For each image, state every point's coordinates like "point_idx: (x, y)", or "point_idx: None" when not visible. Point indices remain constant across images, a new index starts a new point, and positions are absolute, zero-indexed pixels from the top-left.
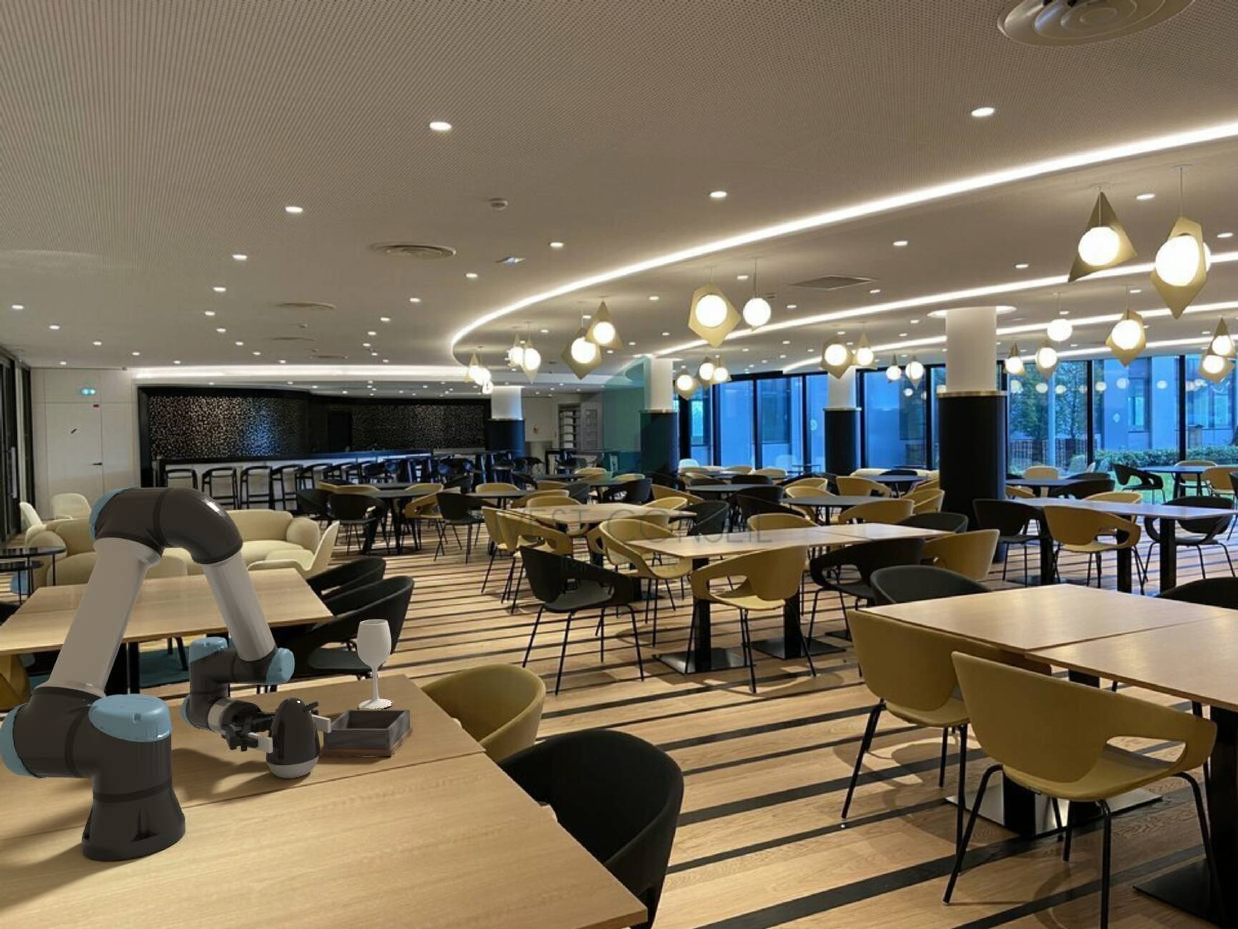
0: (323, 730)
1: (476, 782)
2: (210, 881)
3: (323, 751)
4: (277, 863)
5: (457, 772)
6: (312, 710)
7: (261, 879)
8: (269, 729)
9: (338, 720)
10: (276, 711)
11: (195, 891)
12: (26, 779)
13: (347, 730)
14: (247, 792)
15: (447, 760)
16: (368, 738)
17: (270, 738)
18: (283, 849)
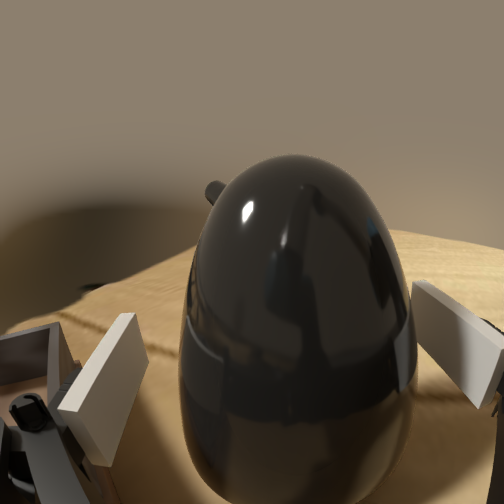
0: (141, 373)
1: (156, 277)
2: (471, 259)
3: (113, 497)
4: (419, 258)
5: (131, 296)
6: (31, 393)
7: (432, 252)
8: (415, 333)
9: None
10: (384, 222)
11: (479, 255)
12: None
13: (60, 384)
14: (455, 414)
15: (89, 318)
16: (67, 368)
17: (419, 281)
18: (411, 268)
